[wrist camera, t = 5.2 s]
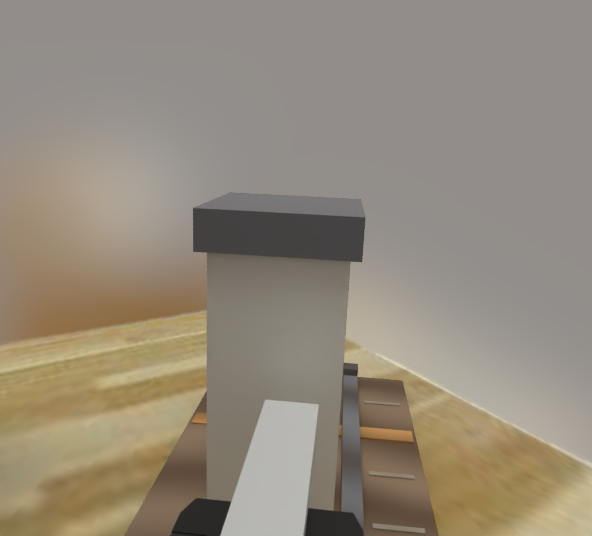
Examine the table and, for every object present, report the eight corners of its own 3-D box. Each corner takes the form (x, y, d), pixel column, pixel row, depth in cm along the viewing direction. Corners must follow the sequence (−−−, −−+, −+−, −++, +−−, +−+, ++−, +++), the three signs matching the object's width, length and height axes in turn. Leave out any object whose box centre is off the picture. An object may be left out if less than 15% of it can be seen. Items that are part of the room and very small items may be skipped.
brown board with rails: (518, 931, 12) (533, 858, 12) (-30, 842, 14) (-41, 771, 13) (400, 392, 40) (404, 362, 39) (220, 377, 41) (221, 348, 40)
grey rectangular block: (331, 674, 17) (365, 217, 14) (195, 657, 18) (193, 208, 14) (334, 565, 22) (360, 199, 18) (226, 553, 22) (230, 192, 18)
